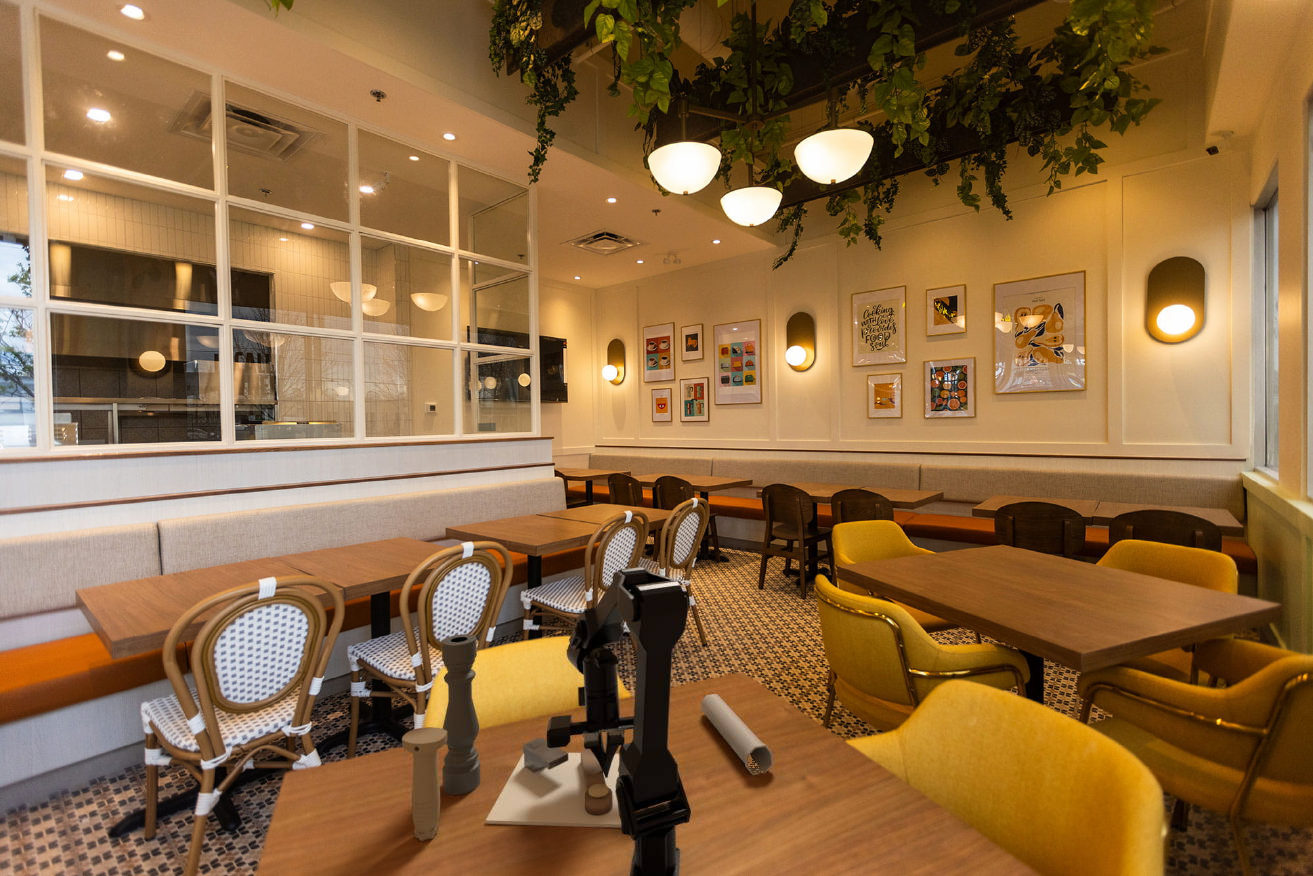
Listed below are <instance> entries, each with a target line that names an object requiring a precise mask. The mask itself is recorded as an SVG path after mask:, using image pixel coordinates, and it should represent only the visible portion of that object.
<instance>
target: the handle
mask: <svg viewBox="0 0 1313 876" xmlns="http://www.w3.org/2000/svg"><path fill="white" fill-rule="evenodd" d="M401 741H402V742H401V745H402V749H404V750H406V752H409V753H411V754H412V757H413V758H412V759H413V760H412V761H413V763H412V785H411V786H412V789H411V811H412V813H411V814H412V815H411V816H412V821H413V822H412V823H413V827H414V828H413V832H414V836H415V838H416V839H417V838H418V840H419V841H420V842H424V841H426V840H430V839H434V837H435V836H436V835H437V833H438V832H439V826H440V823H439V819H440V814H441V813H440V811H441V808H440V807H441V790H440V789H441V788H440V779H439V777H440V776H439V766H438V765H439V764H438V750H440V749H441V748H442V747H444V746H445V745H446V742H447V730H444V729H443V728H441V727H433V726H432V727H430V726H429V727H427V726H425V727H420V728H413V729H411V730H409V731H407V732H405V734H403V736H402V738H401Z"/></svg>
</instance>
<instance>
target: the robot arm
mask: <svg viewBox="0 0 1313 876" xmlns="http://www.w3.org/2000/svg"><path fill="white" fill-rule="evenodd" d="M690 604H691V600H690V595H689V593H688V591H687V589H686V588H685V587H684V586H682V585H681V584H680V583H679V582H678V581H676V580H675V579H673V578H672V577H668V576H665V575H662V574H658V573H654V572H652V571H651V570H650V569H649V568H647V567H645V568H644V567H643V566H638V567H630V568H621V569H618V570H617V571H615V572H613V573H612V582H611V583H610V585H609V586H608V587H607V589H606V591H605V592H604V594H603V595H602V596H601V599H599V601H598V603H597V604H596V605H594V606H593V607H589V608H587V609H586V608H585V610H583V611H581V613H580V614H579V615H578V617H577V620H575V622H574V626H573V629H572V632H571V634H570V637H569V639H568V641H569V644H568V646H567V649H566V657H567V659H568V661H569V663H570V664H571V665H572V666H573V667H574V668H575V669H576V670H577V671H578V672H579V673H580V674H581V675H583V684H584V685H583V686H578V687H577V696H578V697H577V700H578V707H585V719H586V720H585V721H584V720H583V721H576V722H573V716H572V714H566V715H558V716H557V715H556V716H555V715H554V716H551V717H550V719H549V720H548V723H547V728H546V741H547V747H548V748H564V747H565V748H567V746H568V745H569V744H570V742H571V741H572V740H571V739H572V738H571V737H572V736H580V735H582V738H583V749H584V750H588V749H590V750H591V751H592V753H593V754H594V756H595V757H596V759H597V760H598V762H599V764H600V767H601V769H602V771H603V773H604V775H605V778H608V774H609V770H610V767H611V764H612V760H613V758H614V755H615V754H617V752H618V754H619V767H618V772H619V777H617V780H616V790H615V793H616V798H617V802H618V810H619V817H620V820H621V828H620V830H621V833H622V834H623V835H626V836H629V837H630V839H631V840H632V841H633V843H634V847H633V848H634V849H633V854H632V862H631V867H630V873H629V876H679V875H680V862H681V861H680V858H681V857H680V856H681V849H680V847H677V841H676V840H677V835H676V834H677V832H676V826H678V825H682V824H687V823H688V824H689V823H690V820H691V814H692V809H691V807H690V804H689V801H688V797H687V794H686V791H685V789H684V786H683V785H684V784H683V782H682V778H681V776H680V773H679V765H678V763H677V761H676V759H675V758H674V757H673V754H672V753H671V751H670V749H669V747H668V746H669V745H668V741H669V740H668V739H669V720H670V707H671V705H670V704H671V700H670V699H671V685H672V681H671V680H672V664H673V650H674V648H675V646H676V645H677V644H678V642H679V641H680V639H681V638H682V636H683V635H684V633H685V632H686V628H687V627H686V626H687V622H688V615H689V611H690V607H691V605H690ZM624 620H625V622H626V627H627V629H628V630H629V632H630V634H631V635H632V637H633V639H634V640H635V642H636V662H635V663H636V664H635V684H634V685H635V686H634V687H635V688H634V708H633V716H624V717H623V716H620V713H621V712H620V711H621V710H620V697H619V680H618V664H619V663H620V662H619V658H618V656H617V654H615V652H614V651H612V650H613V649H611V648H606V647H605V646H606V645H612V644H617V643H619V642H620V640H621V638H622V636H623V634H624V632H625V627H624ZM626 730H633V732H632V733H633V734H632V740H631V742H629V743H626V742H625V741H626V739H625V732H626ZM603 733H606V737H605V745H604V739H603ZM619 747H620V748H619ZM618 749H619V750H618Z"/></svg>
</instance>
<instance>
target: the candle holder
mask: <svg viewBox="0 0 1313 876" xmlns="http://www.w3.org/2000/svg"><path fill="white" fill-rule="evenodd" d="M477 645H478V644H477V637H476V635H473V634H470V633H469V634H467V633H464V634H454V635H451V636H447V637H445V638H443V639H442V641H441V660H442V661H441V662H443V666H444V667H445V668H446V671H447V672H446V673H445V675H444V676H443V680H444V682H445V683H446V685H448V686H447V689H448V691H447V692H448V693H447V694H448V695H447V696H448V702H447V707H446V711H445V716H444V719H443V723H442V724H443V725H442V729H444V730H447V742H446V743H445V745H447V747H446V748H447V750H448V751H447V753H446V754H445V756H444V758H443V763H444V765H443V767H442V771H441V772H442V773H441V775H442V790H443V792H444V793H445V794H447V795H450V796H459V795H460V796H461V795H465V794H468V793H470V792H473V791H474V790H476V789H477V788H478V787H479V785H480V783H481V762H480V759H479V751H478V750H477V749H476V748H475V743H476V742H475V741H476V740H477V737H478V735H479V731H480V723H479V720H478V715H477V713H476V712H477V711H476V709H475V705H474V700H473V688H472V687H473V685H472V684H473V680H474V679H475V678H476V675H477V673H476V671H475V670H474V669H473V665H474V664H475V661H476V658H477V656H478V654H477V652H478V651H477V648H478V647H477Z"/></svg>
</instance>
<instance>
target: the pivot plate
mask: <svg viewBox="0 0 1313 876" xmlns="http://www.w3.org/2000/svg"><path fill="white" fill-rule="evenodd" d="M522 753H523V752H522ZM567 753H568V761H566V762H564V763H562V764H560V765H558V766H556V767H554V768H552V769H550V770H549V769H547V768H546V767H545V768H543V769H541V770H538V771H536V772H534V773H533V772H532V771H530V770H529V769H527V768H526V767H524V753H523V754H522V755H521V757H520V759H519V761H518V763H517V764H516V766H515V768H514V770H513V771H512V773H511V775H510V777H509V778H508V780H507V781H506V784H505V786H504V787H503V789H502V790H501V792H500V794H499V796H498V798H497V799H496V802H495V803H494V805H493V806H492V809H491V810H490V811H489V813H488V816H487V817H486V819H485V824H488V825H489V824H490V825H491V824H492V825H519V826H521V825H524V826H526V825H527V826H549V827H550V826H551V827H552V826H554V827H584V828H585V827H586V828H591V827H592V828H614V829H615V828H616V829H617V828H620V829H621V820H620V817H619V810H618V802H617V798H616V793H615V790H616V780H617V777H619V772H618V767H619V753H615V755H614V758H613V760H612V764H611V767H610V770H609V774H608V778H605V775H604V778H605V783H606V785H604V784H595V785H592V786H591V787H590V788H589V790H588V793H589V795H590V796H592V797H595V798H599V797H603V796H605V795H607V794H608V792H609V788H610V789H611V790H612V796H613V807H612V809H611V810H610V811H609V812H608V813H606V814H603V815H591V814H589V813H587V812H586V810H585V793H586V787H585V781H584V776H583V770H582V765H581V752H567ZM603 774H604V773H603Z"/></svg>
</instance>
